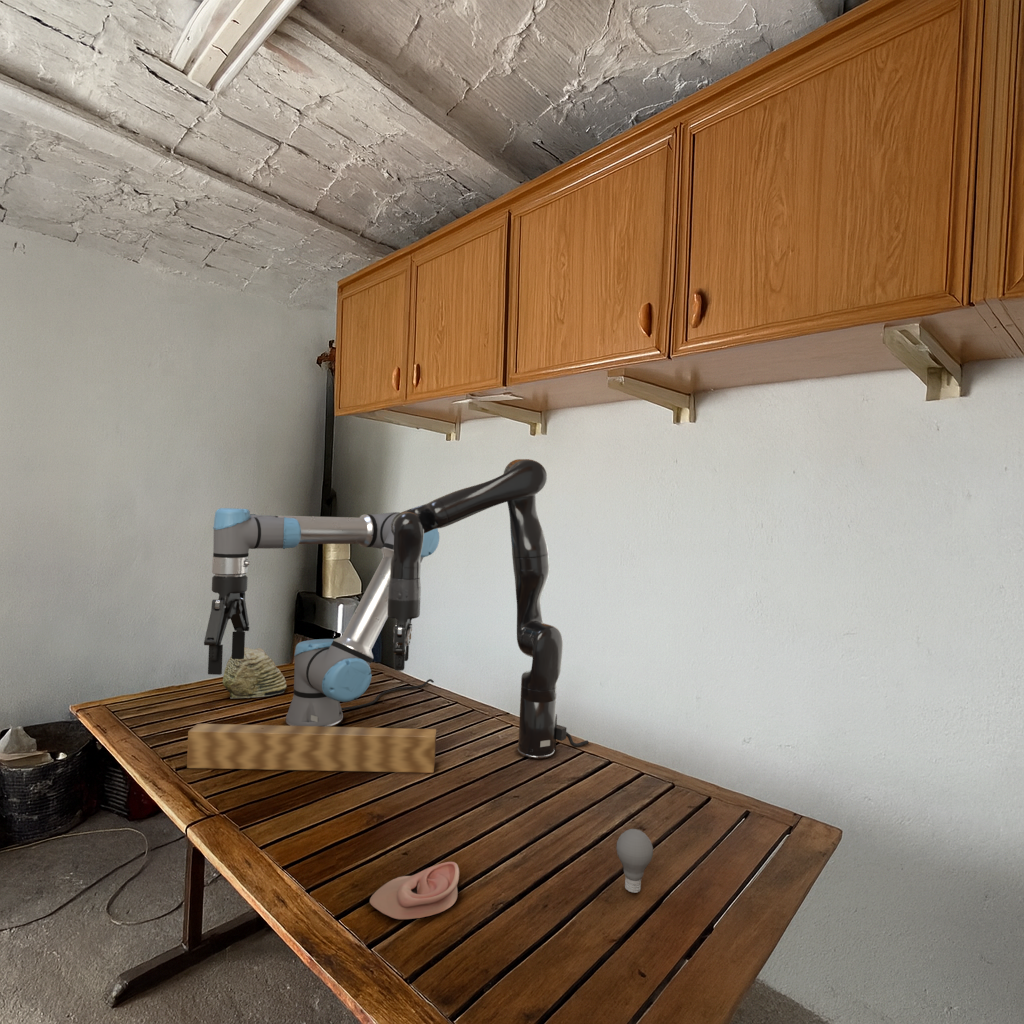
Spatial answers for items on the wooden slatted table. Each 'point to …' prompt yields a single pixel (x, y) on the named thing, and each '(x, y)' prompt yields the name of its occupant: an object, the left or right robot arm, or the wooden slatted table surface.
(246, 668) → the fossil
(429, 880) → the anatomical model
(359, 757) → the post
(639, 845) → the light bulb
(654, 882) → the wooden slatted table surface
